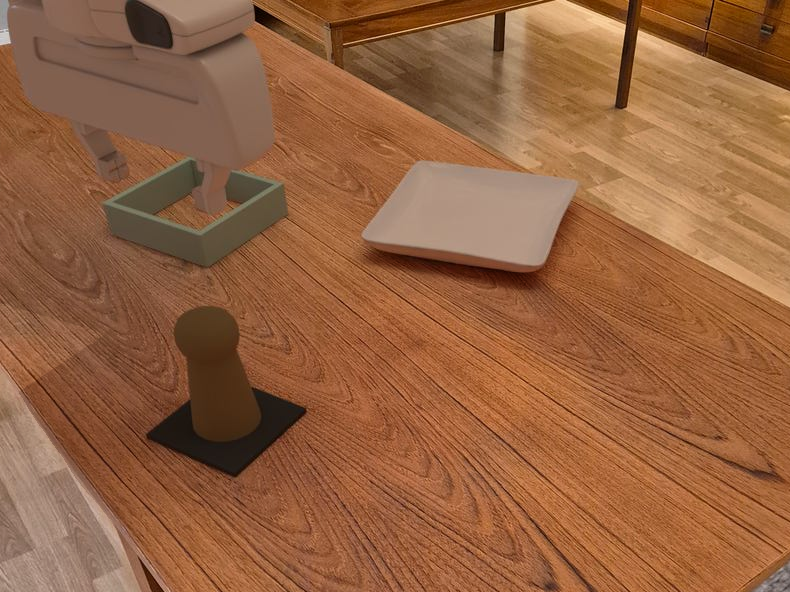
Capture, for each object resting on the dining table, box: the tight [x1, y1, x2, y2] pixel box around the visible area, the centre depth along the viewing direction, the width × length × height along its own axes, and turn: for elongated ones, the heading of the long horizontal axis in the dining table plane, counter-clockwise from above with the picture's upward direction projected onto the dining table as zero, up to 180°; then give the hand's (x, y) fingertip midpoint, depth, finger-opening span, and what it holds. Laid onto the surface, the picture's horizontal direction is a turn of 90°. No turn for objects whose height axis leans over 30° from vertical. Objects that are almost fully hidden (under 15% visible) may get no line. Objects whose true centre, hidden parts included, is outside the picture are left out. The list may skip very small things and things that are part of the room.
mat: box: [145, 386, 307, 478], centre depth 80 cm, size 10×10×1 cm
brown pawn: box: [173, 305, 261, 442], centre depth 76 cm, size 6×6×11 cm
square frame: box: [101, 156, 289, 269], centre depth 105 cm, size 15×15×4 cm
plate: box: [360, 159, 580, 273], centre depth 105 cm, size 21×21×3 cm
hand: (162, 194), depth 65 cm, fingers open, 8 cm apart
